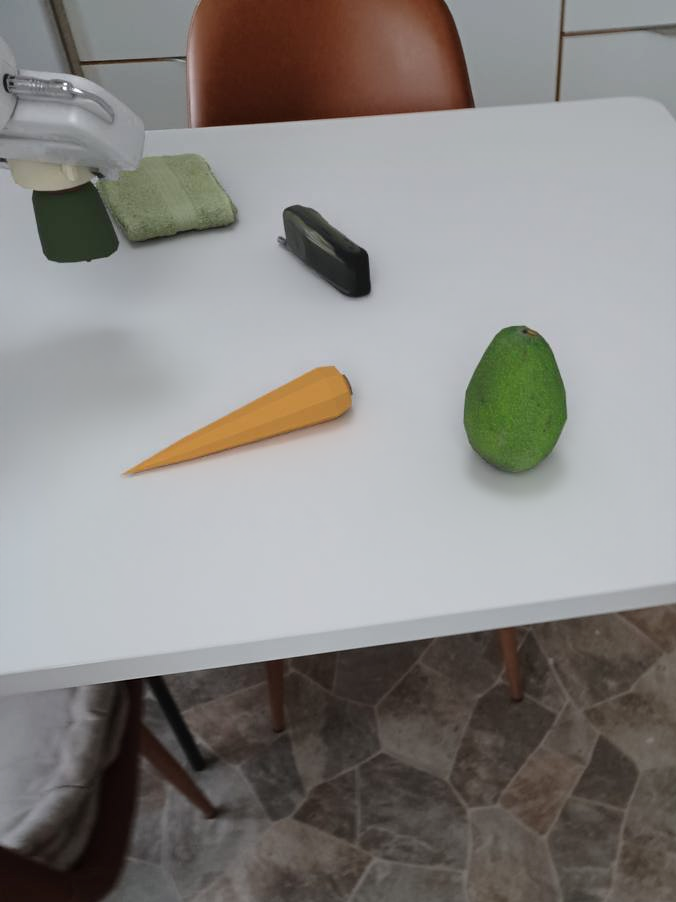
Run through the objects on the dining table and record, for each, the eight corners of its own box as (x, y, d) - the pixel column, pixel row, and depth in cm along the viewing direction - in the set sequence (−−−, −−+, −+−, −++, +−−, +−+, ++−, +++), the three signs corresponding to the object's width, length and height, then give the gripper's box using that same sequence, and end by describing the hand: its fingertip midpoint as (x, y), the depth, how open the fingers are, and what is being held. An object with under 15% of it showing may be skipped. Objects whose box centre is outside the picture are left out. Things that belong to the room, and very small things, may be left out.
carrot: (348, 406, 84) (331, 355, 82) (364, 414, 80) (347, 362, 78) (128, 494, 79) (103, 443, 77) (135, 508, 75) (109, 455, 73)
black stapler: (373, 247, 92) (290, 190, 99) (347, 256, 91) (264, 198, 98) (377, 295, 96) (296, 237, 103) (352, 305, 94) (271, 245, 102)
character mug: (145, 269, 82) (102, 104, 72) (62, 292, 79) (5, 123, 69) (103, 220, 88) (57, 62, 78) (24, 240, 85) (-33, 78, 75)
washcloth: (204, 166, 115) (198, 138, 113) (245, 228, 105) (239, 198, 102) (93, 186, 112) (85, 157, 109) (123, 252, 101) (115, 221, 99)
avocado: (534, 504, 74) (542, 368, 65) (446, 472, 77) (443, 337, 68) (578, 449, 79) (591, 315, 70) (494, 421, 81) (497, 288, 72)
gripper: (93, 38, 63) (185, 138, 77) (-184, 14, 66) (-47, 115, 79) (81, 136, 63) (175, 218, 77) (-194, 108, 66) (-56, 192, 80)
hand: (61, 165), depth 78 cm, fingers closed on character mug, 7 cm apart
